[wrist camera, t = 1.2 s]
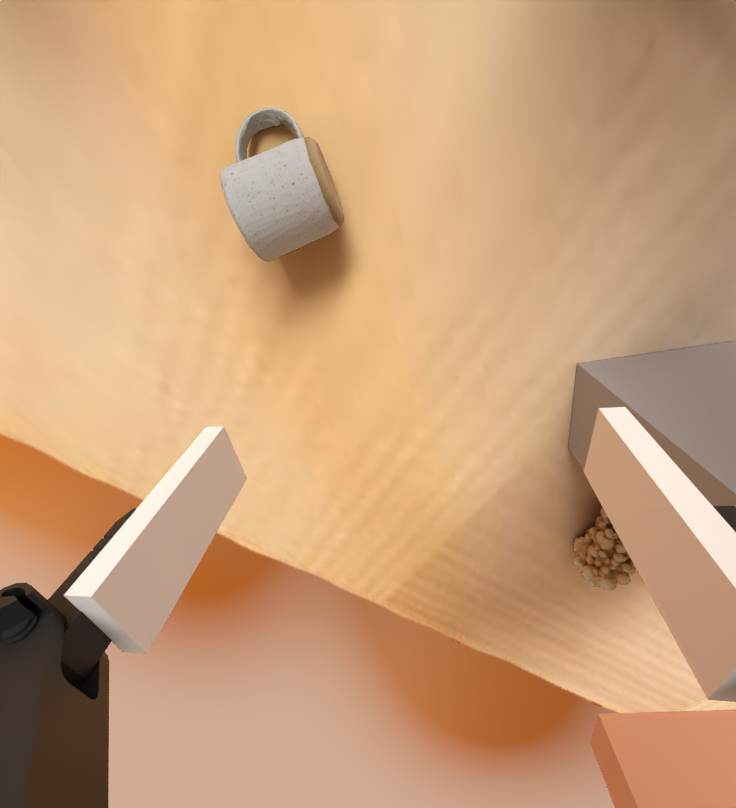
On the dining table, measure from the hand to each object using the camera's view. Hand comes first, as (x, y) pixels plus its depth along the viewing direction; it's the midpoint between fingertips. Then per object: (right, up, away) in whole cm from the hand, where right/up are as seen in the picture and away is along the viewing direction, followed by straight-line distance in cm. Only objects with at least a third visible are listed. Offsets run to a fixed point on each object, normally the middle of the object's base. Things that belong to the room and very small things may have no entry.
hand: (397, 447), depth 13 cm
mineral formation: (+35, -15, +39) cm, 55 cm away
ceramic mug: (-9, +22, +20) cm, 31 cm away
